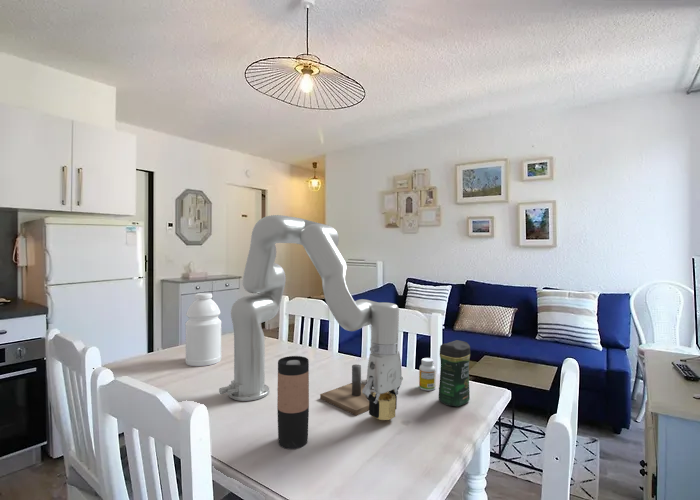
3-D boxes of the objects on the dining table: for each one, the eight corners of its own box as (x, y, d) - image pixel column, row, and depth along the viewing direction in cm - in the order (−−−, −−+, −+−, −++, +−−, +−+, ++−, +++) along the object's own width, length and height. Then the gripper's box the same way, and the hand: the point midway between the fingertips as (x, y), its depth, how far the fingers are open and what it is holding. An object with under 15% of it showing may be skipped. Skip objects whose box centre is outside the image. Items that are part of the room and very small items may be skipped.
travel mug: (279, 434, 95) (279, 356, 95) (309, 432, 96) (309, 355, 96) (275, 450, 88) (275, 365, 88) (308, 449, 88) (308, 365, 88)
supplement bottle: (423, 383, 130) (423, 356, 130) (438, 387, 127) (438, 358, 127) (416, 388, 126) (416, 360, 126) (431, 392, 123) (431, 363, 123)
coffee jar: (457, 410, 110) (457, 347, 110) (434, 401, 116) (435, 341, 115) (474, 401, 116) (474, 341, 116) (451, 393, 122) (452, 336, 122)
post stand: (356, 415, 106) (356, 378, 106) (320, 398, 117) (320, 365, 117) (392, 399, 117) (392, 366, 117) (356, 385, 128) (356, 355, 128)
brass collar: (384, 422, 99) (384, 403, 99) (366, 413, 104) (366, 395, 104) (399, 414, 104) (400, 396, 104) (381, 406, 108) (382, 389, 108)
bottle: (208, 354, 164) (208, 290, 164) (228, 360, 156) (228, 293, 156) (178, 362, 153) (178, 294, 152) (197, 369, 144) (197, 297, 144)
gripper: (373, 357, 95) (371, 427, 95) (414, 345, 107) (412, 407, 107) (352, 350, 100) (351, 417, 100) (393, 339, 112) (392, 399, 112)
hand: (382, 411), depth 104 cm, fingers closed on brass collar, 6 cm apart
